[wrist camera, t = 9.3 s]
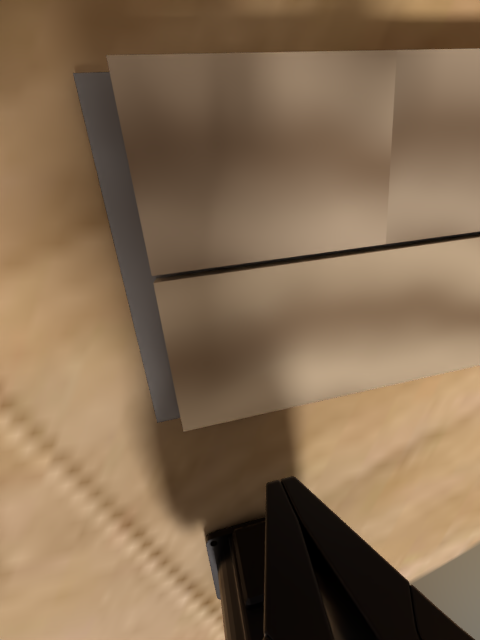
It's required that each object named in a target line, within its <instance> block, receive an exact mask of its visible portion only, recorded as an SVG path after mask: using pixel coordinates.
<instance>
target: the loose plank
mask: <svg viewBox="0 0 480 640" xmlns="http://www.w3.org/2000/svg"><path fill="white" fill-rule="evenodd" d="M153 284H154V289H155V294H156V299H157V304H158V309H159V314H160V319H161V323H162V328H163V333H164V338H165V343H166V348H167V353H168V358H169V363H170V368H171V373H172V378H173V383H174V388H175V393H176V398H177V403H178V407H179V412H180V417H181V422H182V427H183V432H185V431H189V430H194V429H198V428H202V427H207V426H211V425H216V424H220V423H225V422H229V421H234V420H238V419H243V418H247V417H252V416H256V415H261V414H265V413H270V412H274V411H279V410H283V409H287V408H292V407H296V406H301V405H305V404H310V403H314V402H319V401H323V400H328V399H332V398H337V397H341V396H346V395H350V394H355V393H359V392H363V391H368V390H372V389H377V388H381V387H386V386H390V385H395V384H399V383H404V382H408V381H413V380H417V379H422V378H426V377H431V376H435V375H439V374H444V373H448V372H453V371H457V370H462V369H466V368H471V367H475V366H480V234H475V235H468V236H460V237H453V238H446V239H439V240H431V241H424V242H417V243H410V244H402V245H395V246H388V247H381V248H373V249H366V250H359V251H352V252H344V253H337V254H330V255H323V256H315V257H308V258H301V259H294V260H286V261H279V262H272V263H265V264H257V265H250V266H243V267H236V268H228V269H221V270H214V271H207V272H200V273H192V274H185V275H178V276H171V277H163V278H156V280H155V281H154V283H153Z"/></svg>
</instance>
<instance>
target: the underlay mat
mask: <svg viewBox="0 0 480 640" xmlns="http://www.w3.org/2000/svg"><path fill="white" fill-rule="evenodd" d="M73 75H74V79H75V83H76V87H77V92H78V96H79V100H80V104H81V108H82V112H83V116H84V121H85V125H86V129H87V133H88V137H89V141H90V145H91V150H92V154H93V158H94V162H95V166H96V170H97V174H98V179H99V183H100V187H101V191H102V195H103V199H104V204H105V208H106V212H107V216H108V220H109V224H110V228H111V233H112V237H113V241H114V245H115V249H116V253H117V257H118V262H119V266H120V270H121V274H122V278H123V282H124V286H125V291H126V295H127V299H128V303H129V307H130V311H131V315H132V320H133V324H134V328H135V332H136V336H137V340H138V344H139V349H140V353H141V357H142V361H143V365H144V369H145V373H146V378H147V382H148V386H149V390H150V394H151V398H152V402H153V407H154V411H155V415H156V419H157V423H158V422H163V421H167V420H172V419H177V418H181V417H180V412H179V407H178V403H177V398H176V393H175V388H174V383H173V378H172V373H171V368H170V363H169V358H168V353H167V348H166V343H165V338H164V333H163V328H162V323H161V319H160V314H159V309H158V304H157V299H156V294H155V289H154V284H153V283H154V281H155V280H156V278H163V277H171V276H178V275H185V274H192V273H200V272H207V271H214V270H221V269H228V268H236V267H243V266H250V265H257V264H265V263H272V262H279V261H286V260H294V259H301V258H308V257H315V256H323V255H330V254H337V253H344V252H352V251H359V250H366V249H373V248H381V247H388V246H395V245H402V244H410V243H417V242H424V241H431V240H439V239H446V238H453V237H460V236H468V235H475V234H480V231H479V232H472V233H464V234H457V235H450V236H442V237H435V238H428V239H420V240H413V241H406V242H398V243H391V244H384V245H376V246H369V247H362V248H354V249H347V250H340V251H332V252H325V253H318V254H310V255H303V256H296V257H289V258H281V259H274V260H267V261H259V262H252V263H245V264H237V265H230V266H223V267H215V268H208V269H201V270H193V271H186V272H179V273H171V274H164V275H157V276H152V274H151V269H150V265H149V260H148V255H147V250H146V245H145V241H144V236H143V231H142V226H141V221H140V216H139V212H138V207H137V202H136V197H135V192H134V187H133V183H132V178H131V173H130V168H129V163H128V158H127V154H126V149H125V144H124V139H123V134H122V130H121V125H120V120H119V115H118V110H117V105H116V101H115V96H114V91H113V86H112V81H111V76H110V72H96V73H73Z"/></svg>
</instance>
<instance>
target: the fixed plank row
mask: <svg viewBox="0 0 480 640" xmlns="http://www.w3.org/2000/svg"><path fill="white" fill-rule="evenodd" d="M106 57H107V62H108V67H109V72H110V76H111V81H112V86H113V91H114V96H115V101H116V105H117V110H118V115H119V120H120V125H121V130H122V134H123V139H124V144H125V149H126V154H127V158H128V163H129V168H130V173H131V178H132V183H133V187H134V192H135V197H136V202H137V207H138V212H139V216H140V221H141V226H142V231H143V236H144V241H145V245H146V250H147V255H148V260H149V265H150V269H151V274H152V276H157V275H164V274H171V273H179V272H186V271H193V270H201V269H208V268H215V267H223V266H230V265H237V264H245V263H252V262H259V261H267V260H274V259H281V258H289V257H296V256H303V255H310V254H318V253H325V252H332V251H340V250H347V249H354V248H362V247H369V246H376V245H384V244H391V243H398V242H406V241H413V240H420V239H428V238H435V237H442V236H450V235H457V234H464V233H472V232H479V231H480V49H423V50H366V51H310V52H253V53H196V54H139V55H106Z"/></svg>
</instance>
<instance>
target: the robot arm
mask: <svg viewBox="0 0 480 640" xmlns="http://www.w3.org/2000/svg"><path fill="white" fill-rule="evenodd" d="M206 547H207V551H208V556H209V561H210V566H211V571H212V575H213V580H214V585H215V590H216V594H217V598H218V599H221V606H222V614H223V623H224V632H225V640H475V639H473V638H472V637H471V636H470V635H468V633H466V632H465V631H463V629H461V628H460V627H459V626H458V625H457V624H455V623H454V622H453V621H452V620H451V619H450V618H449V617H447V616H446V615H445V614H444V613H443V612H442V611H441V610H439V609H438V608H437V607H436V606H435V605H434V604H433V603H432V602H431V601H429V600H428V599H427V598H426V597H425V596H424V595H423V594H422V593H421V592H420V591H418V590H417V588H415V587H414V586H413V585H410V584H409V581H408V580H407V579H405V578H404V577H403V576H402V575H401V574H400V573H399V572H398V571H397V570H396V569H395V568H394V567H392V566H391V565H390V564H389V563H388V562H387V561H386V560H385V559H384V558H383V557H382V556H380V555H379V554H378V553H377V552H376V551H375V550H374V549H373V548H372V547H371V546H370V545H368V544H367V543H366V542H365V541H364V540H363V539H362V538H361V537H360V536H359V535H358V534H357V533H355V532H354V531H353V530H352V529H351V528H350V527H349V526H348V525H347V524H346V523H345V522H343V521H342V520H341V519H340V518H339V517H338V516H337V515H336V514H335V513H334V512H333V511H332V510H330V509H329V508H328V507H327V506H326V505H325V504H324V503H323V502H322V501H321V500H320V499H318V498H317V497H316V496H315V495H314V494H313V493H312V492H311V491H310V490H309V489H308V488H306V487H305V486H304V485H303V484H302V483H301V482H300V481H299V480H298V479H297V478H296V477H293V476H291V477H287V478H284V479H281V481H279V480H276V481H272V482H268V483H267V484H266V518H262V519H259V520H255V521H251V522H248V523H244V524H241V525H237V526H234V527H230V528H227V529H223V530H220V531H216V532H213V533H210V534H209V535H207V537H206Z"/></svg>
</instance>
